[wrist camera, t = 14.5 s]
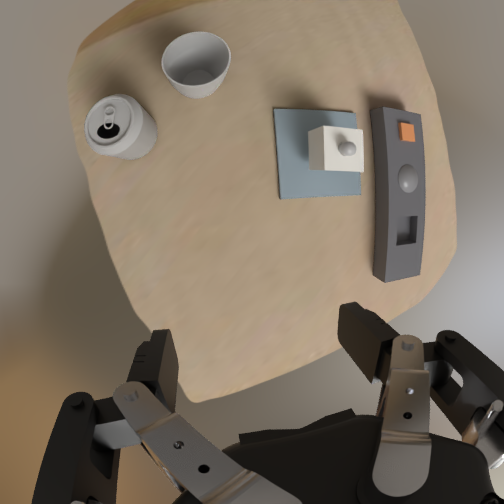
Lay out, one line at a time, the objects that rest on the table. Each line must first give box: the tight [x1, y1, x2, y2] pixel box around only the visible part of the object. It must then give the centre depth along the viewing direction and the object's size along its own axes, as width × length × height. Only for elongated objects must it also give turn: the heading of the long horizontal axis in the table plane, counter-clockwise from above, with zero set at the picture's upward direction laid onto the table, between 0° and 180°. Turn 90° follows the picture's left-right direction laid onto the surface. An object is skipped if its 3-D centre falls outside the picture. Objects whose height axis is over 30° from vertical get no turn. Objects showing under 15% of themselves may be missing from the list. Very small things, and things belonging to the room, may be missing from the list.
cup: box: [162, 32, 231, 98], centre depth 30 cm, size 8×8×10 cm
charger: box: [308, 126, 364, 172], centre depth 35 cm, size 6×6×10 cm
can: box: [84, 94, 158, 160], centre depth 29 cm, size 8×8×12 cm
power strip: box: [370, 107, 425, 283], centre depth 42 cm, size 30×9×5 cm, turn 4°
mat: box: [273, 109, 361, 199], centre depth 40 cm, size 14×14×1 cm
